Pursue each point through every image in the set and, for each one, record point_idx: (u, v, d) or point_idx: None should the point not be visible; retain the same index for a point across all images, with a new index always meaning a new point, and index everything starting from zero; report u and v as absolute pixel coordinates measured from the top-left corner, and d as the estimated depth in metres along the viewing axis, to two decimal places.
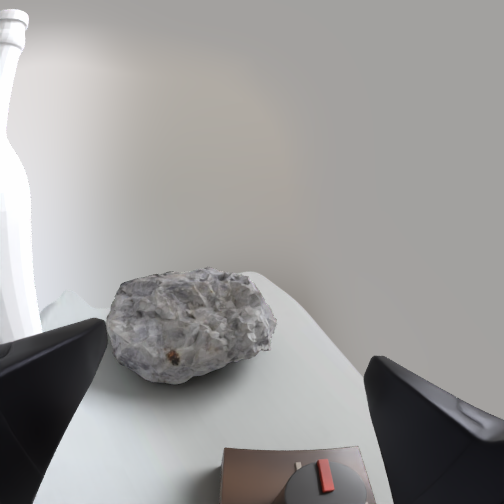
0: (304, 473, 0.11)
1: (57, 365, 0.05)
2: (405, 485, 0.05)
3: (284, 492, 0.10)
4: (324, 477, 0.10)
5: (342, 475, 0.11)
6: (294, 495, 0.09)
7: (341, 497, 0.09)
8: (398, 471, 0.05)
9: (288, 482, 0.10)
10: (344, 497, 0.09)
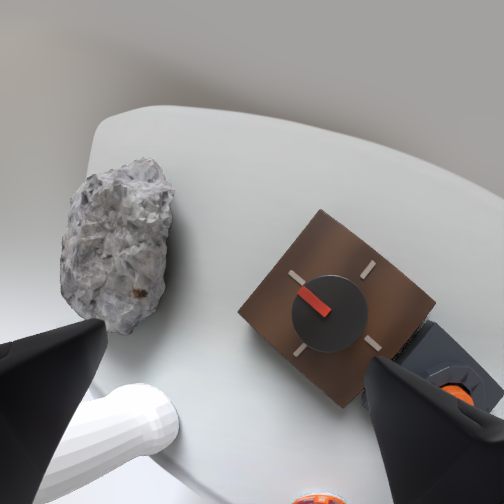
0: (298, 311, 0.16)
1: (57, 365, 0.05)
2: (405, 485, 0.05)
3: None
4: (314, 304, 0.15)
5: (327, 288, 0.15)
6: (308, 336, 0.15)
7: (342, 309, 0.15)
8: (398, 471, 0.05)
9: (295, 329, 0.16)
10: (344, 307, 0.15)
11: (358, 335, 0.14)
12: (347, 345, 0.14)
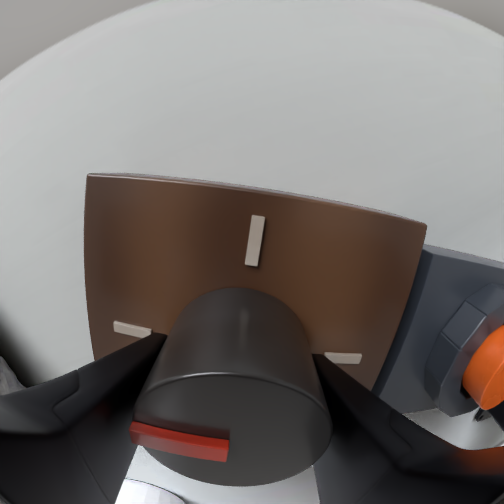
0: (167, 457, 0.05)
1: (132, 390, 0.05)
2: (331, 499, 0.05)
3: (212, 482, 0.06)
4: (184, 449, 0.05)
5: (181, 410, 0.05)
6: (222, 479, 0.05)
7: (254, 431, 0.05)
8: (326, 482, 0.05)
9: (190, 477, 0.05)
10: (257, 427, 0.05)
11: (325, 446, 0.05)
12: (311, 463, 0.05)
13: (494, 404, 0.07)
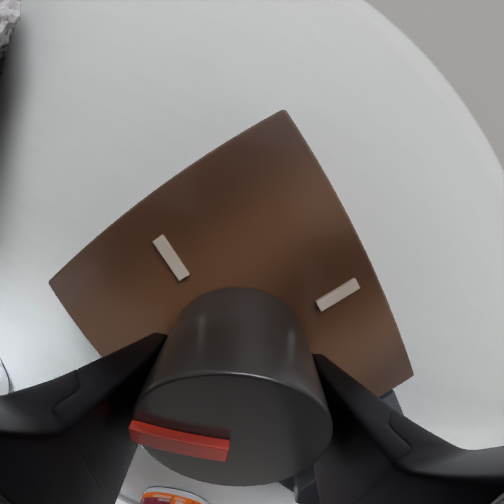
0: (166, 456, 0.05)
1: (132, 390, 0.05)
2: (331, 499, 0.05)
3: (210, 481, 0.06)
4: (184, 448, 0.05)
5: (183, 409, 0.05)
6: (221, 479, 0.05)
7: (255, 431, 0.05)
8: (326, 483, 0.05)
9: (188, 476, 0.05)
10: (258, 427, 0.05)
11: (325, 446, 0.05)
12: (310, 463, 0.05)
13: None
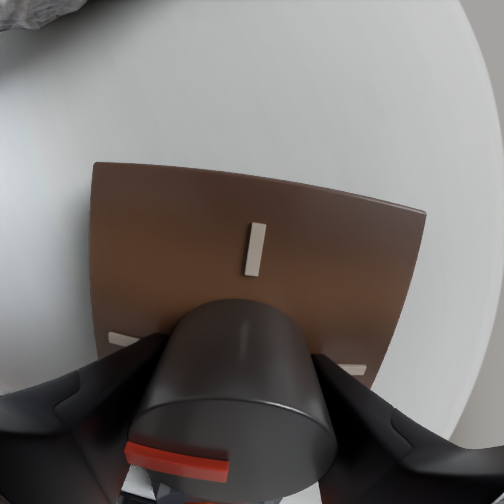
0: (165, 476, 0.05)
1: (133, 390, 0.05)
2: (333, 499, 0.05)
3: (212, 498, 0.05)
4: None
5: (177, 433, 0.04)
6: (223, 496, 0.05)
7: (254, 452, 0.04)
8: (327, 483, 0.05)
9: (189, 494, 0.05)
10: (257, 448, 0.04)
11: (329, 464, 0.04)
12: (314, 480, 0.05)
13: None
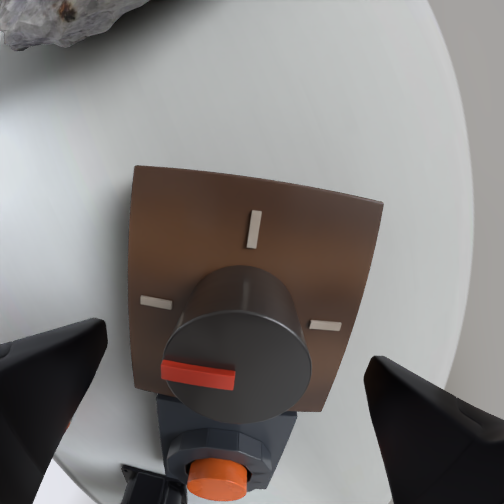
0: (187, 395, 0.08)
1: (57, 365, 0.05)
2: (405, 485, 0.05)
3: (221, 420, 0.08)
4: (202, 380, 0.07)
5: (201, 345, 0.07)
6: (229, 415, 0.08)
7: (253, 361, 0.07)
8: (398, 471, 0.05)
9: (203, 415, 0.08)
10: (255, 357, 0.07)
11: (307, 379, 0.08)
12: (298, 397, 0.08)
13: (191, 488, 0.12)
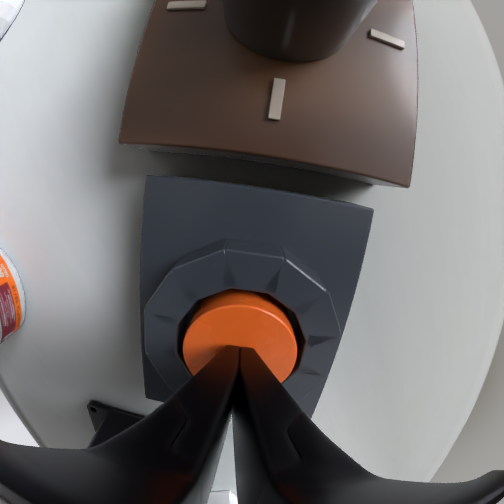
0: None
1: (227, 409, 0.06)
2: (241, 501, 0.04)
3: None
4: None
5: None
6: None
7: None
8: (239, 483, 0.05)
9: None
10: None
11: None
12: None
13: (190, 354, 0.08)
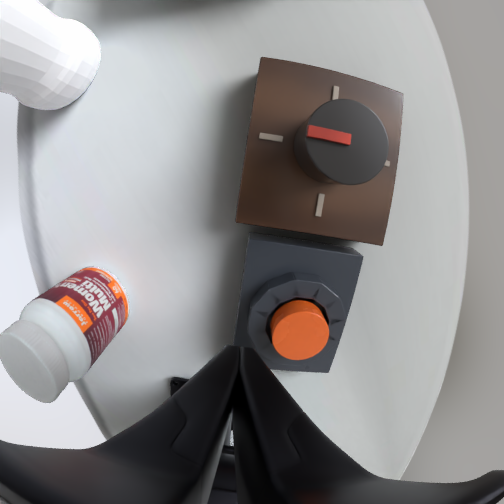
0: (319, 155, 0.13)
1: (227, 409, 0.06)
2: (241, 501, 0.04)
3: (337, 182, 0.13)
4: (332, 137, 0.12)
5: (331, 116, 0.12)
6: (344, 174, 0.13)
7: (358, 129, 0.12)
8: (239, 483, 0.05)
9: (327, 175, 0.13)
10: (359, 126, 0.12)
11: (387, 147, 0.12)
12: (383, 162, 0.13)
13: (276, 337, 0.17)
